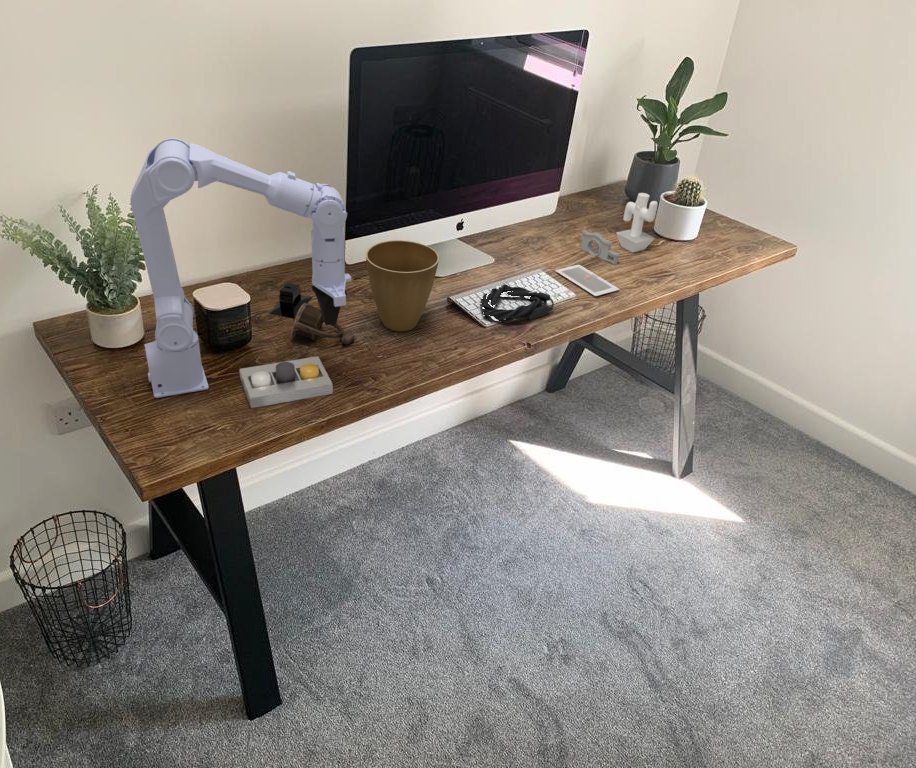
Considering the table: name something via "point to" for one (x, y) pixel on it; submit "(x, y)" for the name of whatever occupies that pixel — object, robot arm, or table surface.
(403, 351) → the table surface
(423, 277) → the plant pot
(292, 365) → the dark grey rounded block
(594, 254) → the grey bracket plate
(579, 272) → the touchpad
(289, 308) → the black mount on base
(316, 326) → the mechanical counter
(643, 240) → the figurine
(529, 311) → the cable
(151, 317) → the table surface
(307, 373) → the amber button
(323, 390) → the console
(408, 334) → the table surface
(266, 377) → the white button
